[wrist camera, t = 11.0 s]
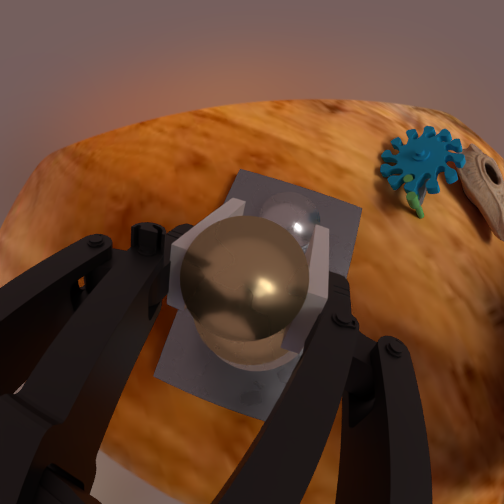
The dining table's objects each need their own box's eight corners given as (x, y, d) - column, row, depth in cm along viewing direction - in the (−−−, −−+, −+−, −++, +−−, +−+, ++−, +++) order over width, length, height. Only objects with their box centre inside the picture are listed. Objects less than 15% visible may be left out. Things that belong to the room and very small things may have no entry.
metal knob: (317, 278, 18) (373, 215, 9) (283, 376, 16) (313, 418, 7) (221, 245, 19) (190, 158, 10) (184, 339, 17) (107, 334, 8)
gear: (392, 122, 27) (467, 122, 18) (408, 157, 30) (476, 163, 22) (360, 190, 25) (452, 202, 17) (380, 223, 29) (459, 241, 20)
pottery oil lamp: (478, 254, 23) (493, 211, 17) (440, 185, 30) (443, 142, 25) (524, 239, 20) (542, 199, 15) (484, 176, 27) (491, 136, 22)
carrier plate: (358, 213, 25) (366, 202, 22) (292, 424, 19) (295, 433, 17) (240, 175, 26) (239, 161, 24) (158, 374, 20) (147, 377, 18)
